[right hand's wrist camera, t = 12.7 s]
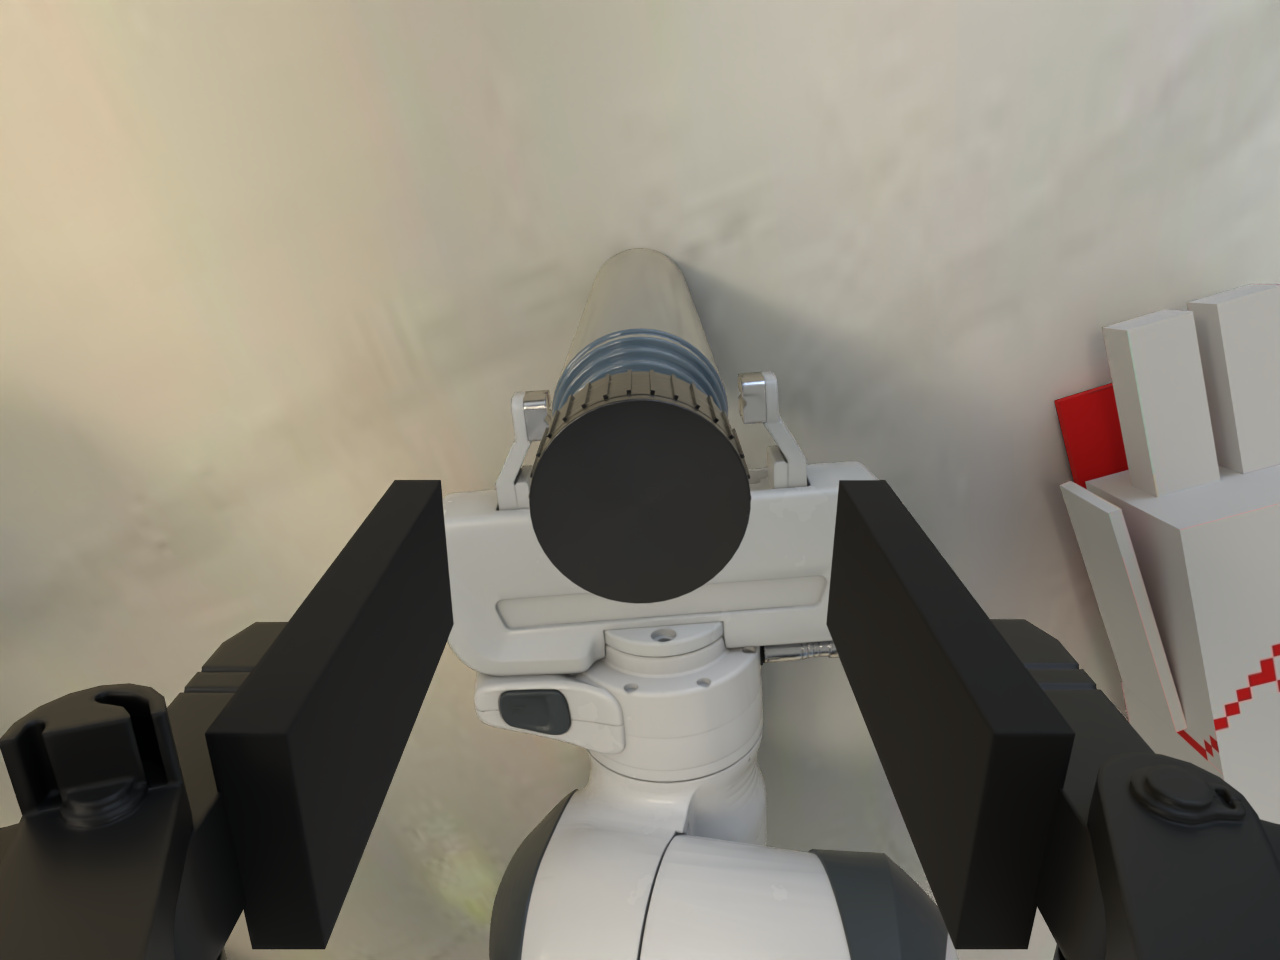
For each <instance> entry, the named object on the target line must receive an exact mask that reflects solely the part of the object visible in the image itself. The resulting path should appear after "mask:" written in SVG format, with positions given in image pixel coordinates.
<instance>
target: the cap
mask: <svg viewBox="0 0 1280 960" xmlns="http://www.w3.org/2000/svg"><path fill="white" fill-rule="evenodd" d="M530 477H531V478H532V481H531V486H530V493H529V507H530V517H531V521H532V526H533V529H534V532H535V535H536V537H537V540H538V542H539V544H540V546H541V548H542V550H543V551H544V553H545V554H546V556H547V557H548V559H549V560H550V561H551V563H552V564H553V565H554V566H555V567H556V568H557V569H558V570H559V571H560V572H561V573H562V574H563V575H564V576H565V577H566V578H568V579H569V580H570V581H571V582H573V583H574V584H576V585H577V586H579V587H581V588H582V589H584V590H586V591H588V592H590V593H592V594H595V595H597V596H600V597H603V598H606V599H609V600H614V601H618V602H624V603H635V604H640V603H655V602H662V601H667V600H670V599H674V598H678V597H680V596H683V595H685V594H688V593H690V592H692V591H694V590H696V589H698V588H699V587H701V586H703V585H704V584H706V583H707V582H708V581H710V580H711V579H713V578H714V577H715V576H716V575H717V574H718V573H719V572H720V571H721V570H722V569H723V568H724V567H725V566H726V565H727V564H728V563H729V561H730V560H731V559H732V557H733V556H734V554H735V553H736V551H737V550H738V548H739V546H740V544H741V542H742V540H743V538H744V535H745V532H746V529H747V526H748V522H749V516H750V510H751V493H750V485H749V480H748V479H750V474H749V471H748V468H747V465H746V462H745V460H744V454H743V451H742V448H741V445H740V442H739V439H738V437H737V434H736V431H735V429H731V427H730V424H729V421H728V418H727V415H726V412H725V411H721V410H720V409H719V408H718V407H717V405H716V404H715V403H714V401H713V398H712V396H710V395H709V396H707V395H706V394H704V393H703V392H701V391H700V390H699V389H697V388H696V385H695V384H694V383H691V384H689V383H687V382H685V381H683V380H681V379H678V378H676V376H675V375H674V374H671V376H670V375H665V374H661V373H657V372H654V370H650V372H646V371H635V372H632V369H630V370H628V372H625V373H619V374H614V375H611V376H610V373H609V374H606V377H604V378H602V379H600V380H597V381H595V382H593V383H591V384H590V382H588V383H586V386H585V387H584V388H583V389H581V390H580V391H578V392H577V393H576V394H575V395H574V396H573V395H572V394H571V395H570V396H569V397H568V400H567V402H566V403H565V404H564V405H563V406H562V408H561V409H560V410H556V411H555V413H554V416H553V419H552V422H551V425H550V427H549V428H547V427H546V429H545V431H544V434H543V437H542V440H541V443H540V446H539V448H538V451H537V454H536V459H535V462H534V465H533V468H532V471H531V474H530Z"/></svg>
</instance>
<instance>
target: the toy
mask: <svg viewBox="0 0 1280 960" xmlns="http://www.w3.org/2000/svg"><path fill="white" fill-rule="evenodd" d="M1187 307H1188V311H1182V310H1168V309H1163V310H1160V311H1157V312H1153V313H1150V314H1146V315H1143V316H1139V317H1136V318H1133V319H1129V320H1126V321H1122V322H1119V323H1116V324H1112V325H1109V326H1105V327H1102V330H1103V336H1104V341H1105V346H1106V352H1107V357H1108V362H1109V368H1110V373H1111V378H1112V383H1110V384H1107V385H1104V386H1100V387H1097V388H1094V389H1091V390H1087V391H1084V392H1081V393H1078V394H1074V395H1071V396H1068V397H1065V398H1061V399H1058V400H1055V405H1056V410H1057V414H1058V418H1059V422H1060V426H1061V430H1062V434H1063V439H1064V443H1065V447H1066V451H1067V455H1068V459H1069V463H1070V468H1071V472H1072V476H1073V480H1074V482H1072V481H1068V482H1066V483H1063V484H1061V485H1059V486H1060V489H1061V492H1062V495H1063V498H1064V501H1065V504H1066V507H1067V510H1068V514H1069V517H1070V520H1071V523H1072V526H1073V529H1074V532H1075V535H1076V538H1077V542H1078V545H1079V548H1080V551H1081V554H1082V557H1083V560H1084V563H1085V566H1086V570H1087V573H1088V576H1089V579H1090V582H1091V585H1092V588H1093V591H1094V594H1095V597H1096V601H1097V604H1098V607H1099V610H1100V613H1101V616H1102V619H1103V622H1104V625H1105V629H1106V632H1107V635H1108V638H1109V641H1110V644H1111V647H1112V650H1113V653H1114V657H1115V660H1116V663H1117V666H1118V669H1119V672H1120V675H1121V678H1122V681H1121V684H1122V689H1123V694H1124V699H1125V704H1126V709H1127V714H1128V719H1129V723H1130V725H1131V726H1132V727H1133V728H1134V729H1135V730H1136V732H1137V733H1138V734H1139V735H1140V736H1141V737H1142V739H1143V740H1144V741H1145V742H1146V743H1147V744H1148V746H1149V747H1150V748H1151V749H1152V750H1153V751H1154V752H1155V754H1162V755H1166V756H1169V757H1172V758H1176V759H1179V760H1183V761H1186V762H1190V763H1192V764H1194V765H1196V766H1198V767H1200V768H1202V769H1204V770H1206V771H1208V772H1210V773H1212V774H1214V775H1216V776H1218V777H1220V778H1221V779H1223V780H1224V781H1225V782H1227V783H1228V784H1229V785H1231V786H1232V787H1233V788H1235V789H1236V790H1237V791H1238V792H1240V793H1241V794H1242V795H1243V796H1244V797H1245V798H1246V800H1247V801H1248V802H1249V804H1250V805H1251V806H1252V808H1253V809H1254V810H1255V812H1256V813H1257V814H1258V816H1259V819H1261V820H1264V821H1268V822H1272V823H1276V824H1280V284H1249V285H1245V286H1242V287H1238V288H1235V289H1232V290H1228V291H1225V292H1221V293H1218V294H1214V295H1211V296H1208V297H1204V298H1201V299H1197V300H1194V301H1191V302H1187Z"/></svg>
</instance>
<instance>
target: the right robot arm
mask: <svg viewBox="0 0 1280 960" xmlns="http://www.w3.org/2000/svg"><path fill="white" fill-rule="evenodd" d="M453 625H454V622H453V611H452V600H451V589H450V578H449V567H448V555H447V544H446V533H445V522H444V511H443V500H442V489H441V480H395V481H394V482H393V483H392V485H391V486H390V487H389V489H388V490H387V491H386V493H385V494H384V495H383V497H382V498H381V499H380V501H379V502H378V503H377V505H376V506H375V507H374V509H373V510H372V511H371V513H370V514H369V515H368V517H367V518H366V519H365V521H364V522H363V523H362V525H361V526H360V527H359V529H358V530H357V531H356V533H355V534H354V535H353V537H352V538H351V539H350V541H349V542H348V543H347V545H346V546H345V547H344V549H343V550H342V551H341V552H340V554H339V555H338V556H337V558H336V559H335V560H334V562H333V563H332V564H331V566H330V567H329V568H328V570H327V571H326V572H325V574H324V575H323V576H322V578H321V579H320V580H319V582H318V583H317V584H316V586H315V587H314V588H313V590H312V591H311V592H310V594H309V595H308V596H307V598H306V599H305V600H304V602H303V603H302V604H301V606H300V607H299V608H298V610H297V611H296V612H295V614H294V615H293V616H292V618H291V619H290V620H289V622H255V623H254V624H252V625H251V626H249V627H247V628H246V629H244V630H243V631H241V632H239V633H238V634H236V635H235V636H233V637H231V638H230V639H228V640H227V641H225V642H223V643H222V644H221V645H220V647H219V648H218V649H217V650H216V651H215V652H214V654H213V655H212V656H211V657H210V658H209V660H208V661H207V662H206V663H205V664H204V665H203V667H202V672H197V674H196V675H195V676H194V677H193V678H192V679H191V681H190V682H189V683H188V684H187V685H186V686H185V691H184V693H179V695H178V696H177V697H176V698H175V699H174V701H173V702H172V703H171V704H170V705H169V706H168V708H167V707H166V703H165V699H164V697H163V696H162V695H161V694H159V693H158V692H157V691H155V690H154V689H153V688H151V687H146V686H141V685H135V684H116V685H102V686H97V687H93V688H90V689H86V690H82V691H78V692H74V693H70V694H67V695H65V696H63V697H60V698H58V699H56V700H54V701H51V702H49V703H47V704H44V705H42V706H40V707H38V708H36V709H35V710H33V711H32V712H30V713H29V714H27V715H26V716H24V717H23V718H21V719H20V720H18V721H17V722H15V723H14V724H13V725H12V726H11V727H10V728H9V730H8V731H7V732H6V733H5V734H4V735H3V736H2V738H1V739H0V749H1V752H2V755H3V758H4V761H5V764H6V767H7V770H8V773H9V776H10V779H11V782H12V785H13V788H14V791H15V795H16V798H17V801H18V804H19V807H20V810H21V813H22V818H21V820H20V822H19V824H15V825H11V826H8V827H3V828H0V960H227V959H226V954H225V950H224V945H225V943H226V941H227V939H228V938H229V936H230V934H231V932H232V930H233V928H234V926H235V924H236V922H237V920H238V919H239V917H240V915H241V913H242V911H243V909H244V913H245V918H246V922H247V927H248V931H249V936H250V940H251V945H252V949H325V948H326V945H327V943H328V940H329V938H330V935H331V933H332V930H333V928H334V925H335V923H336V920H337V918H338V915H339V913H340V910H341V907H342V905H343V902H344V900H345V897H346V895H347V892H348V890H349V887H350V885H351V882H352V880H353V877H354V875H355V872H356V870H357V867H358V865H359V862H360V860H361V857H362V854H363V852H364V849H365V847H366V844H367V842H368V839H369V837H370V834H371V832H372V829H373V827H374V824H375V822H376V819H377V817H378V814H379V812H380V809H381V807H382V804H383V801H384V799H385V796H386V794H387V791H388V789H389V786H390V784H391V781H392V779H393V776H394V774H395V771H396V769H397V766H398V764H399V761H400V759H401V756H402V754H403V751H404V748H405V746H406V743H407V741H408V738H409V736H410V733H411V731H412V728H413V726H414V723H415V721H416V718H417V716H418V713H419V711H420V708H421V706H422V703H423V700H424V698H425V695H426V693H427V690H428V688H429V685H430V683H431V680H432V678H433V675H434V673H435V670H436V668H437V665H438V663H439V660H440V658H441V655H442V653H443V650H444V647H445V645H446V642H447V640H448V637H449V635H450V632H451V630H452V627H453ZM826 625H827V627H828V630H829V632H830V635H831V637H832V640H833V642H834V645H835V647H836V650H837V653H838V655H839V658H840V660H841V663H842V665H843V668H844V670H845V673H846V675H847V678H848V680H849V683H850V685H851V688H852V690H853V693H854V695H855V698H856V700H857V703H858V706H859V708H860V711H861V713H862V716H863V718H864V721H865V723H866V726H867V728H868V731H869V733H870V736H871V738H872V741H873V743H874V746H875V748H876V751H877V754H878V756H879V759H880V761H881V764H882V766H883V769H884V771H885V774H886V776H887V779H888V781H889V784H890V786H891V789H892V791H893V794H894V796H895V799H896V801H897V804H898V807H899V809H900V812H901V814H902V817H903V819H904V822H905V824H906V827H907V829H908V832H909V834H910V837H911V839H912V842H913V844H914V847H915V849H916V852H917V854H918V857H919V860H920V862H921V865H922V867H923V870H924V872H925V875H926V877H927V880H928V882H929V885H930V887H931V890H932V892H933V895H934V897H935V900H936V902H937V905H938V907H939V910H940V913H941V915H942V918H943V920H944V923H945V925H946V928H947V930H948V933H949V935H950V938H951V940H952V943H953V945H954V948H955V949H1028V945H1029V940H1030V936H1031V931H1032V927H1033V922H1034V918H1035V913H1036V909H1037V907H1038V909H1039V910H1040V912H1041V914H1042V916H1043V918H1044V920H1045V922H1046V924H1047V926H1048V927H1049V929H1050V931H1051V933H1052V935H1053V937H1054V939H1055V941H1056V943H1057V946H1056V950H1055V954H1054V959H1053V960H1280V824H1276V823H1272V822H1268V821H1264V820H1261V819H1259V816H1258V814H1257V813H1256V812H1255V810H1254V809H1253V808H1252V806H1251V805H1250V804H1249V802H1248V801H1247V800H1246V798H1245V797H1244V796H1243V795H1242V794H1241V793H1240V792H1238V791H1237V790H1236V789H1235V788H1233V787H1232V786H1231V785H1229V784H1228V783H1227V782H1225V781H1224V780H1223V779H1221V778H1220V777H1218V776H1216V775H1214V774H1212V773H1210V772H1208V771H1206V770H1204V769H1202V768H1200V767H1198V766H1196V765H1194V764H1192V763H1190V762H1186V761H1183V760H1179V759H1176V758H1172V757H1169V756H1166V755H1162V754H1155V752H1154V751H1153V750H1152V749H1151V748H1150V747H1149V746H1148V744H1147V743H1146V742H1145V741H1144V740H1143V739H1142V737H1141V736H1140V735H1139V734H1138V733H1137V732H1136V730H1135V729H1134V728H1133V727H1132V726H1131V725H1130V723H1129V722H1128V721H1127V720H1126V719H1125V718H1124V716H1123V715H1122V714H1121V713H1120V712H1119V711H1118V709H1117V708H1116V707H1115V706H1114V705H1113V704H1112V702H1111V701H1110V700H1109V699H1108V698H1107V697H1106V695H1105V694H1104V693H1103V692H1102V691H1101V690H1097V689H1096V684H1095V683H1094V682H1093V680H1092V679H1091V678H1090V677H1089V676H1088V675H1087V673H1086V672H1085V671H1084V670H1083V669H1079V664H1078V663H1077V662H1076V661H1075V659H1074V658H1073V657H1072V656H1071V655H1070V654H1069V652H1068V651H1067V650H1066V649H1065V648H1064V647H1063V645H1062V644H1061V643H1060V642H1059V641H1058V640H1057V639H1055V638H1054V637H1052V636H1050V635H1049V634H1047V633H1046V632H1044V631H1042V630H1041V629H1039V628H1038V627H1036V626H1034V625H1033V624H1031V623H1030V622H1028V621H1026V620H1021V619H1020V620H1016V619H1015V620H1011V619H1009V620H1006V619H1004V620H1000V619H998V620H995V619H993V620H990V619H989V618H988V616H987V615H986V614H985V612H984V611H983V610H982V608H981V607H980V606H979V604H978V603H977V602H976V600H975V599H974V598H973V596H972V595H971V594H970V592H969V591H968V590H967V588H966V587H965V586H964V584H963V583H962V582H961V580H960V579H959V578H958V576H957V575H956V574H955V572H954V571H953V570H952V568H951V567H950V566H949V564H948V563H947V562H946V560H945V559H944V558H943V556H942V555H941V554H940V553H939V551H938V550H937V549H936V547H935V546H934V545H933V543H932V542H931V541H930V539H929V538H928V537H927V535H926V534H925V533H924V531H923V530H922V529H921V527H920V526H919V525H918V523H917V522H916V521H915V519H914V518H913V517H912V515H911V514H910V513H909V511H908V510H907V509H906V507H905V506H904V505H903V503H902V502H901V501H900V499H899V498H898V497H897V495H896V494H895V493H894V491H893V490H892V489H891V487H890V486H889V485H888V483H887V482H886V481H885V480H839V489H838V500H837V511H836V522H835V533H834V544H833V555H832V567H831V578H830V589H829V600H828V611H827V622H826Z"/></svg>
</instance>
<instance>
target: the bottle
mask: <svg viewBox="0 0 1280 960" xmlns="http://www.w3.org/2000/svg"><path fill="white" fill-rule="evenodd" d="M630 369H632V372H635V371H646V372H650V370H654V372H657V373H661V374H665V375H670V376H671V374H674V375H675V376H676V378H678V379H681V380H683V381H685V382H687V383H689V384H691V383H694V384H695V385H696V388H697V389H699V390H700V391H701V392H703V393H704V394H706V395H707V396H709V395H710V396H712V398H713V401H714V403H715V404H716V405H717V407H718V408H719V409H720V410H721V411H725V412H726V415H727V418H728V404H727V396H726V393H725V389H724V386H723V383H722V380H721V377H720V375H719V372H718V369H717V366H716V363H715V361H714V358H713V355H712V352H711V350H710V347H709V344H708V341H707V338H706V336H705V333H704V330H703V327H702V325H701V322H700V319H699V316H698V314H697V311H696V308H695V305H694V302H693V300H692V297H691V294H690V291H689V289H688V286H687V283H686V280H685V278H684V276H683V274H682V272H681V270H680V269H679V268H678V266H677V265H676V264H675V263H674V262H673V261H672V260H671V259H670V258H668V257H667V256H665V255H664V254H662V253H660V252H657V251H655V250H651V249H644V248H635V249H629V250H626V251H622V252H620V253H618V254H616V255H615V256H613V257H612V258H610V259H609V260H608V261H607V262H606V263H605V264H604V265H603V266H602V267H601V269H600V270H599V272H598V274H597V276H596V278H595V280H594V283H593V286H592V289H591V292H590V294H589V297H588V300H587V303H586V305H585V308H584V311H583V314H582V317H581V319H580V322H579V325H578V328H577V331H576V333H575V336H574V339H573V342H572V344H571V347H570V350H569V353H568V356H567V358H566V361H565V364H564V367H563V369H562V372H561V375H560V378H559V381H558V383H557V386H556V389H555V392H554V397H553V402H552V419H553V416H554V413H555V411H556V410H560V409H561V408H562V406H563V405H564V404H565V403H566V402H567V400H568V397H569V396H570V395H571V394H572V395H573V396H574V395H575V394H576V393H577V392H578V391H580V390H581V389H583V388H584V387H585V386H586V383H588V382H590V384H591V383H593V382H595V381H597V380H600V379H602V378H604V377H606V374H609V373H610V376H611V375H614V374H619V373H625V372H628V370H630Z"/></svg>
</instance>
